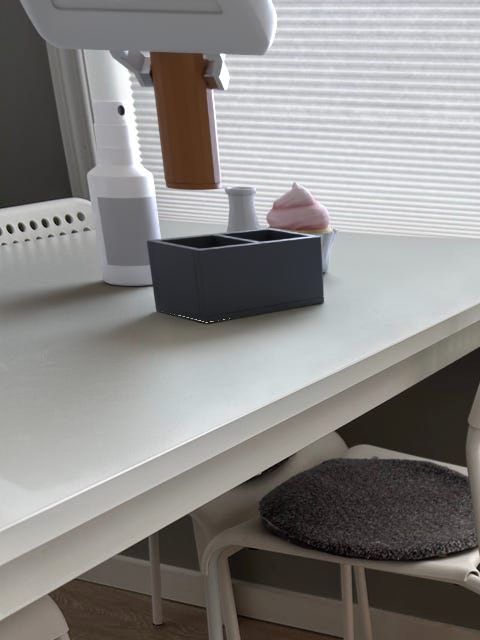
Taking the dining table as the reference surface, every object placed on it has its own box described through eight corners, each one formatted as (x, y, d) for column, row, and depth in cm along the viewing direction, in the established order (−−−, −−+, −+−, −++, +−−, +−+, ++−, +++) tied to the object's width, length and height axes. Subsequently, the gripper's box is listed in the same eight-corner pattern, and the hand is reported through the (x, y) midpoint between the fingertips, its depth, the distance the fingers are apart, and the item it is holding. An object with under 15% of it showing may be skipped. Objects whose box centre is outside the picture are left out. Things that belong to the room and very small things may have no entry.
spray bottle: (132, 289, 104) (104, 101, 95) (90, 281, 107) (60, 98, 98) (179, 281, 109) (157, 102, 100) (138, 273, 112) (113, 99, 103)
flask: (292, 281, 111) (286, 187, 106) (255, 291, 106) (247, 192, 101) (242, 275, 114) (234, 183, 109) (203, 284, 108) (192, 187, 103)
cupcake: (288, 262, 123) (283, 177, 118) (352, 269, 120) (349, 181, 115) (248, 273, 115) (240, 182, 110) (315, 280, 112) (310, 187, 107)
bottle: (155, 186, 88) (130, -9, 80) (199, 183, 91) (180, -4, 84) (188, 191, 85) (166, -11, 78) (232, 188, 89) (215, -5, 81)
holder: (155, 310, 95) (146, 240, 92) (274, 291, 106) (269, 227, 102) (206, 323, 91) (198, 250, 88) (324, 302, 102) (321, 236, 98)
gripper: (253, -100, 71) (304, 58, 84) (1, -103, 73) (89, 51, 87) (236, -33, 69) (290, 116, 82) (-21, -39, 72) (72, 107, 85)
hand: (185, 83), depth 85 cm, fingers closed on bottle, 5 cm apart
